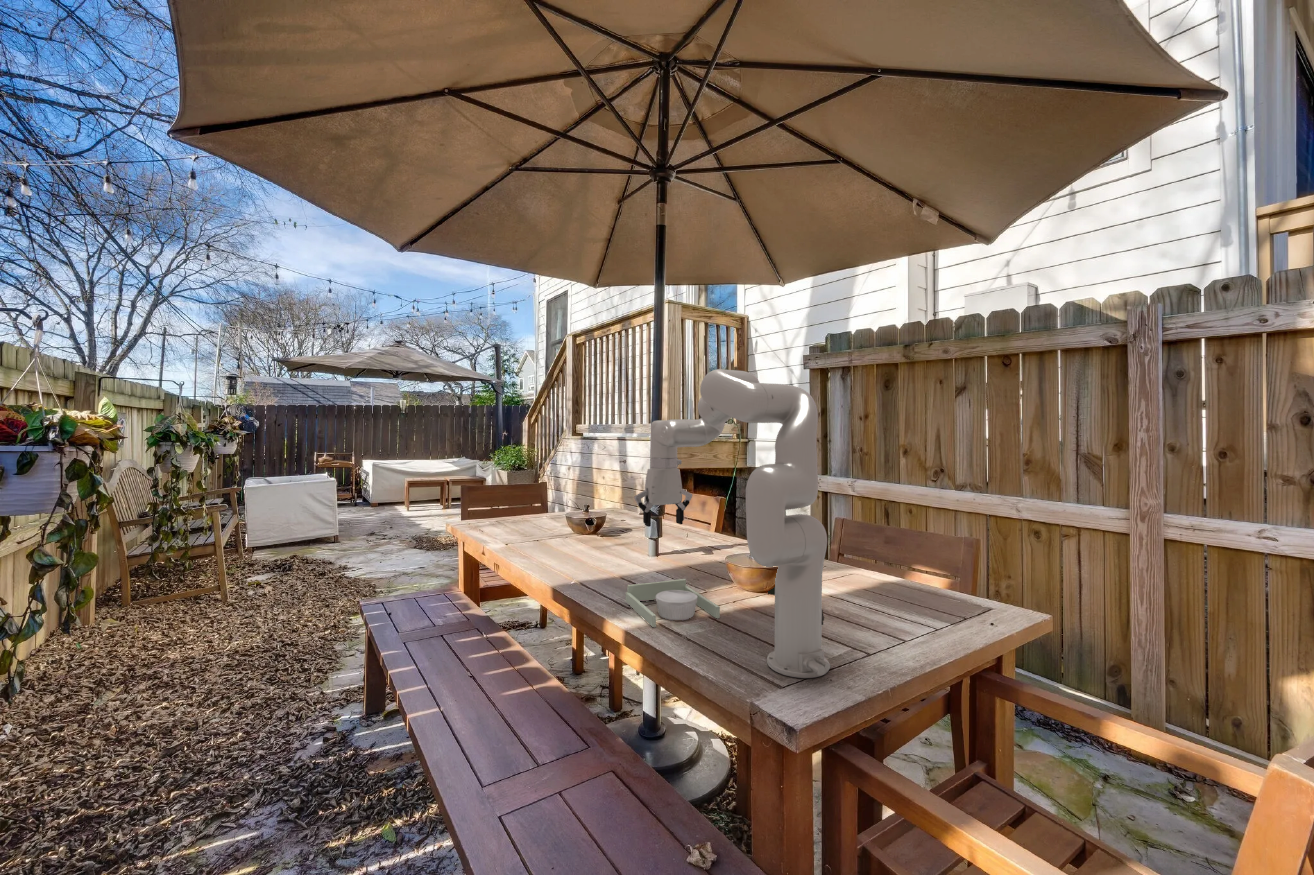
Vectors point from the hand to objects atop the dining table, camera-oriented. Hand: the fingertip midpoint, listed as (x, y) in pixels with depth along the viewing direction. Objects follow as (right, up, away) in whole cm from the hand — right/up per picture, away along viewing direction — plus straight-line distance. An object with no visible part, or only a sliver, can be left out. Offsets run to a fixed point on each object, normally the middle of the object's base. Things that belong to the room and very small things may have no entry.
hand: (663, 524), depth 154 cm
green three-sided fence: (+2, -23, -5) cm, 23 cm away
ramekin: (+3, -23, -8) cm, 25 cm away
